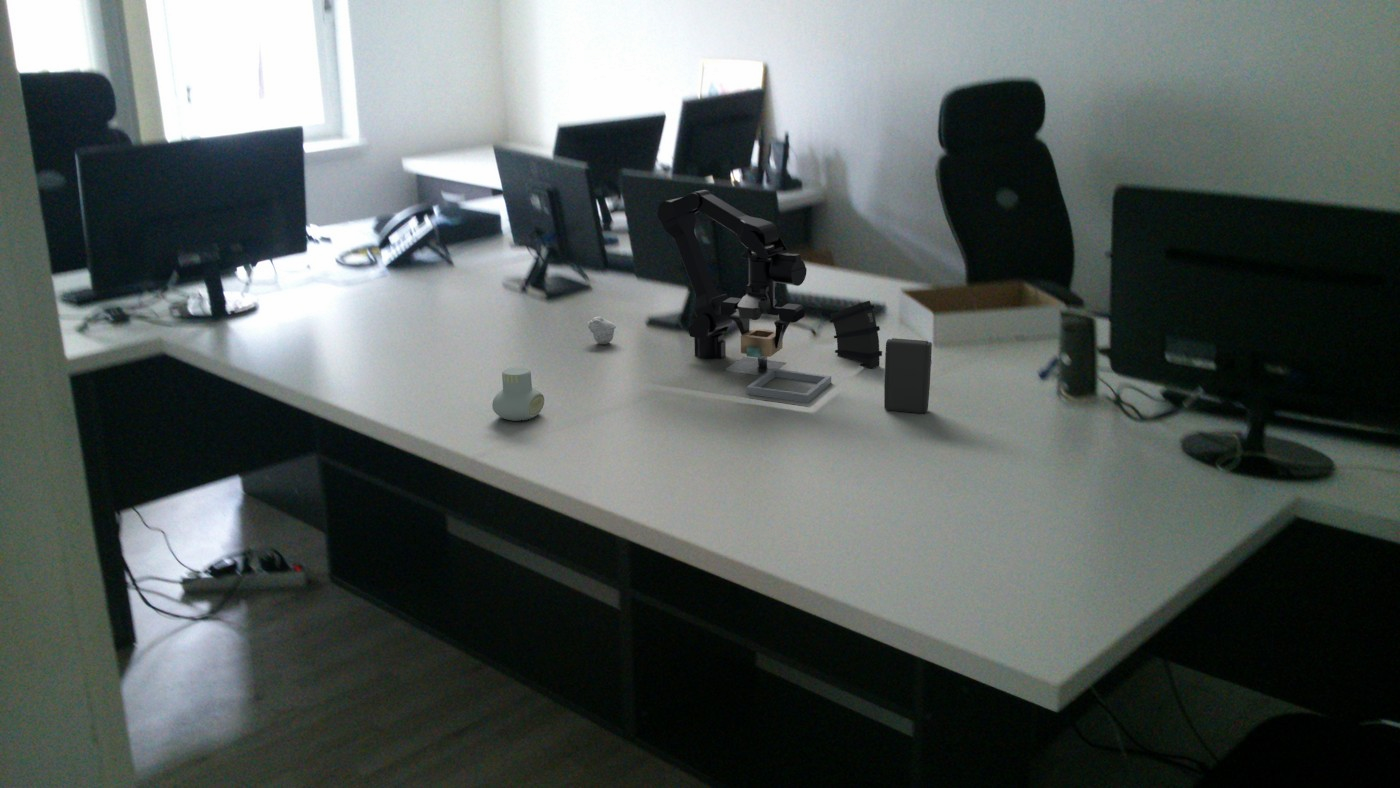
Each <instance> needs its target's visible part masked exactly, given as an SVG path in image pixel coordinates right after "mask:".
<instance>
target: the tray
mask: <svg viewBox="0 0 1400 788" xmlns="http://www.w3.org/2000/svg"><path fill="white" fill-rule="evenodd" d="M774 378H782V379H789V380H797V381H803V382H809V383H811V382H812V383H816V384H815V385H814V386H812V387H811V388H810V389H808V390H807V391H806V392H804V393H803V392H796V391H790V390H783V389H778V388H777V389H775V388H768V387H763V386H765V384H767V383H768V382H770V381H771V380H772V379H774ZM830 384H832V376H831V375H824V374H816V373H809V372H802V371H795V370H788V369H787V370H786V369H781V368H779V369H773V368H772V369H771V370H770V371H768V372H767V373H765V374H764V375H763V376H760V377H758V378H757V379H756V380H754V381H752V382H751V383H750V384H749V385H747V386H746V394H747V395H751V396H753V395H754V396H761V397H767V398H772V399H773V398H774V399H779V400H780V399H781V400H788V401H793V402H794V401H796V402H801V403H809V402H810V401H811V400H813V399H814V398H815V397H816V396H817V395H819V394H820V393H821V392H822V391H823V390H824V389H826V388H827V387H828V386H830ZM750 399H752V400H753V399H754V400H755V398H754V397H753V398H752V397H750ZM757 400H759V401H762V399H759V398H757ZM763 401H765V402H768V400H766V399H765V400H764V399H763ZM770 402H772V403H775V401H773V400H770ZM777 403H780V404H782V402H781V401H777ZM784 404H785V405H786V404H787V405H789V403H788V402H787V403H786V402H784ZM791 405H793V406H796V404H794V403H791ZM798 406H799V407H803V405H800V404H798Z"/></svg>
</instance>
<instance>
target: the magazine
mask: <svg viewBox="0 0 1400 788" xmlns="http://www.w3.org/2000/svg"><path fill="white" fill-rule="evenodd" d="M875 308H876V307H875V304H872V303H871V300H868V301H863V302H859V303H857V304H854V305H852V306H849V307H846V308H844V309H840V310H838V311H836V312H833V313H830V317H831V318H830V319H829V322H830V323H832V324H833V327H834V330H835V331H834V332H835V335H834V336H833V338H834V339H836V342H837V344H836V345H837V349H836V350H834V353H835V354H837V356H838V357H842V358H845V359H849V360H852V361H854V362H855V361H856V362H860V364H859V366H860V367H863V368H867V369H869V370H871V369H875V368H878V367H880V357H883V351H881V350H880V339H879V333H878V332H879V331H881V329H880V326H879V325H877V321H876V316H875V313H874V310H873V309H875Z"/></svg>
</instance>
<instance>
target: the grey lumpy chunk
mask: <svg viewBox="0 0 1400 788" xmlns="http://www.w3.org/2000/svg"><path fill="white" fill-rule="evenodd" d="M587 326H588V327H587V328H588V329H589V331H590V332H591V334H592V335H593V339H594V341H595V342H596V343H598V344H599V345H607V344H609V343H610V342H611V341H613V338H614V335H615V334H614V333H615V329H616V328H617V326H616V324H615V323H614V322H612V321H610V320H608V319H605V318H604V317H603V316H594V317H593V318H592V319H591V320H588V322H587Z"/></svg>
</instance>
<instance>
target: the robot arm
mask: <svg viewBox="0 0 1400 788" xmlns="http://www.w3.org/2000/svg"><path fill="white" fill-rule="evenodd" d="M698 212H700V213H702V214H703V215H705V216H706V217H708V218H710V219H711V220H713V221H715V222H716V223H718V224H719V225H721V226H723V227H725V228H726V229H728V230H729V231H731V232H732V233H734V234H735V235H736V236H737V239H738V241H739V242H740V243H741V244H742V245H743V246H744V247H745V248H746V250H745V251H744V252H743V253H741V254H740V258H741V259H746V260H748V284H747V285H746V289H745V294H744V295H743V296H742V297H741V298H739V297H732V296H731V297H730V296H729V295H728V293H724V294H722V293H720V292H719V291H718V290H717V289H716V286H715V283H714V281H713V278H712V275H711V273H710V270H709V267H708V264H707V262H706V260H705V256H704V253H703V251H702V249H701V246H700V243H699V240H698V238H697V236H696V233H695V232H696V231H695V230H696V224H697V222H696V221H697V217H696V213H698ZM656 216H657V218H658V221H659V222H660V223H659V224H661V226H662V228H663V230H664V231H665V233H667V235H669V236H670V237H671V238H672V239H673V240H674V242H675V244H676V246H677V249H678V250H677V251H678V252H679V255H680V257H681V260H682V263H683V266H684V269H685V271H686V274H687V277H688V279H689V281H690V284H691V287H692V288H693V292H694V295H695V305H694V313H695V317H696V319H695V320H694V321H693V322H692V323H691V324H690V325H689V326H688V328H687V330H688V334H689V336H690V337H691V338H694V339H693V340H694V341H693V343H694V356H695V357H697V358H699V359H702V360H703V359H704V360H713V359H714V360H722V359H723V358H725V357H726V356H727V354H726V353H727V352H726V350H727V349H726V345H727V344H726V342H727V341H726V340H724V338H725V336H724V335H725V334H724V333H727V332H728V331H729V328H730V325H731V324H732V322H734V323H736V325H737V327H738V330H739V332H740V336H742V335H743V334H745V333H747V332H748V331H750V320H753V321H757V320H759V319H760V318H761V316H762V315H770V316H777V317H778V319H777V320H775V321H774V325H775V331H776V334H775V348H776V349H777V348H779V345H780V343H781V341H782V338H784V335H785V333H786V331H787V329H788V327H789V325H790V324H791V323H797V322H799V321H801V320H802V319H803V318H804V317H805V308H804V306H803V305H802V304H798V303H797V304H796V303H786V304H784V305H783V306H781V307H780V306H775V305H777V299H776V298H775V288H776V287H777V283H778V284H785V285H789V286H790V285H791V286H794V287H795V286H797V287H798V286H801V285H802V284H803V283H804V281H805V279H806V276H807V267H806V264H805V262H804V260H802V255H801V253H789V249H788V247H787V245H786V243H785V242H784V240H783V238H782V237H781V234H780V233H779V229H778V226H777V225H776V224H775V223H774V222H772V221H769V220H765V219H763V218H761V217H760V218H759V217H754V216H750V215H747V214H746V213H744V212H743V211H740V210H739V209H737V208H736V207H734V206H732V205H730V204H729V203H728V202H726V201H724V200H722V199H721V198H719V197H717V196H716V195H714V194H713V193H712V192H711V191H710V190H707V189H702V190H697V191H693V192H690V194H688V195H686V196H683V197H677V198H673V199H668V200H664V201H661V202H660V204H659V205H658V207H657V210H656Z"/></svg>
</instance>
